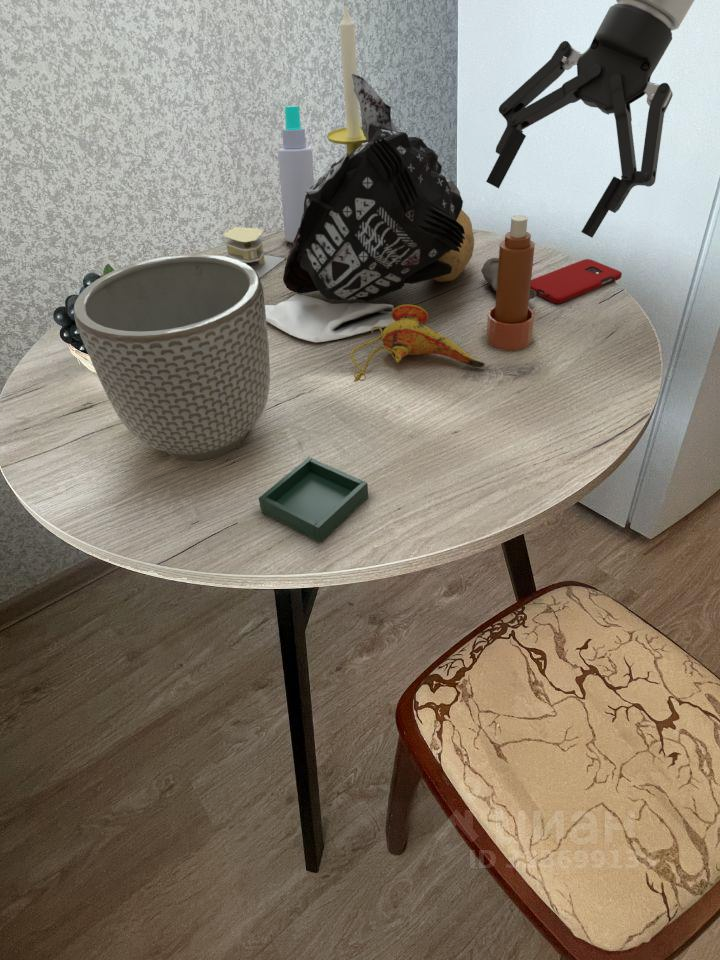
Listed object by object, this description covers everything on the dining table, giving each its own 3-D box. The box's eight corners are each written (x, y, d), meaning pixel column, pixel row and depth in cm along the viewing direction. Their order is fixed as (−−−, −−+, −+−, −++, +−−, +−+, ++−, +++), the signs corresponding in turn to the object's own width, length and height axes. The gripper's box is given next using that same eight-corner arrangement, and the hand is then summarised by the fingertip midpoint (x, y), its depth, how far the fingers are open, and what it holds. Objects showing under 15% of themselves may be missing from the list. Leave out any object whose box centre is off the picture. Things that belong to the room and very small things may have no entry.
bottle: (530, 331, 98) (543, 215, 88) (516, 345, 96) (527, 226, 85) (502, 324, 100) (511, 209, 90) (487, 337, 98) (495, 220, 87)
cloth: (232, 330, 105) (229, 316, 104) (276, 291, 115) (274, 278, 113) (392, 357, 96) (391, 343, 95) (425, 313, 106) (425, 299, 104)
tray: (368, 497, 75) (367, 482, 74) (320, 543, 70) (318, 528, 69) (310, 470, 79) (308, 456, 78) (261, 512, 74) (258, 497, 73)
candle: (360, 243, 128) (345, -4, 103) (401, 256, 122) (395, -2, 98) (321, 261, 122) (295, 6, 98) (362, 276, 117) (345, 9, 93)
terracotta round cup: (538, 335, 99) (541, 310, 96) (518, 355, 95) (521, 328, 93) (499, 325, 102) (501, 299, 99) (478, 343, 98) (480, 317, 96)
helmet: (245, 264, 89) (407, 70, 83) (220, 225, 110) (347, 69, 104) (380, 382, 102) (527, 222, 97) (335, 327, 124) (453, 194, 118)
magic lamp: (484, 336, 98) (479, 406, 94) (357, 324, 99) (347, 393, 95) (491, 307, 92) (487, 381, 88) (356, 295, 93) (345, 368, 89)
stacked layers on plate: (211, 271, 123) (204, 240, 119) (239, 251, 129) (234, 221, 125) (259, 278, 119) (253, 247, 115) (285, 258, 125) (281, 227, 121)
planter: (114, 414, 90) (64, 275, 78) (260, 377, 95) (235, 239, 83) (135, 508, 76) (79, 356, 64) (306, 458, 81) (284, 307, 68)
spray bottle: (308, 244, 126) (299, 106, 115) (279, 242, 129) (267, 107, 118) (323, 237, 131) (315, 105, 120) (295, 236, 133) (285, 106, 122)
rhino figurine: (543, 313, 105) (505, 317, 104) (509, 274, 115) (475, 277, 114) (547, 287, 102) (509, 291, 101) (513, 250, 112) (477, 253, 111)
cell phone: (558, 299, 105) (557, 305, 105) (624, 271, 110) (623, 277, 111) (521, 282, 110) (521, 287, 110) (587, 256, 115) (586, 262, 116)
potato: (404, 292, 111) (403, 235, 105) (433, 254, 122) (434, 200, 116) (456, 299, 108) (458, 240, 102) (482, 259, 119) (485, 203, 113)
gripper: (754, 72, 73) (635, 260, 82) (555, -6, 82) (467, 172, 91) (751, 47, 67) (622, 253, 76) (536, -35, 76) (443, 159, 85)
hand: (538, 209), depth 83 cm, fingers open, 13 cm apart
